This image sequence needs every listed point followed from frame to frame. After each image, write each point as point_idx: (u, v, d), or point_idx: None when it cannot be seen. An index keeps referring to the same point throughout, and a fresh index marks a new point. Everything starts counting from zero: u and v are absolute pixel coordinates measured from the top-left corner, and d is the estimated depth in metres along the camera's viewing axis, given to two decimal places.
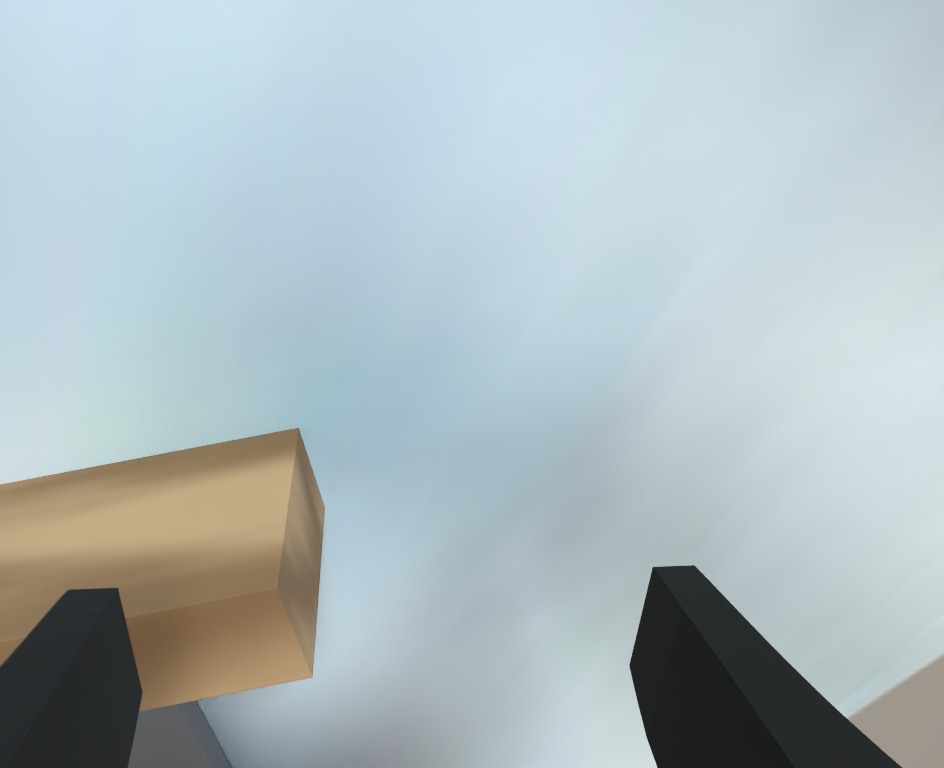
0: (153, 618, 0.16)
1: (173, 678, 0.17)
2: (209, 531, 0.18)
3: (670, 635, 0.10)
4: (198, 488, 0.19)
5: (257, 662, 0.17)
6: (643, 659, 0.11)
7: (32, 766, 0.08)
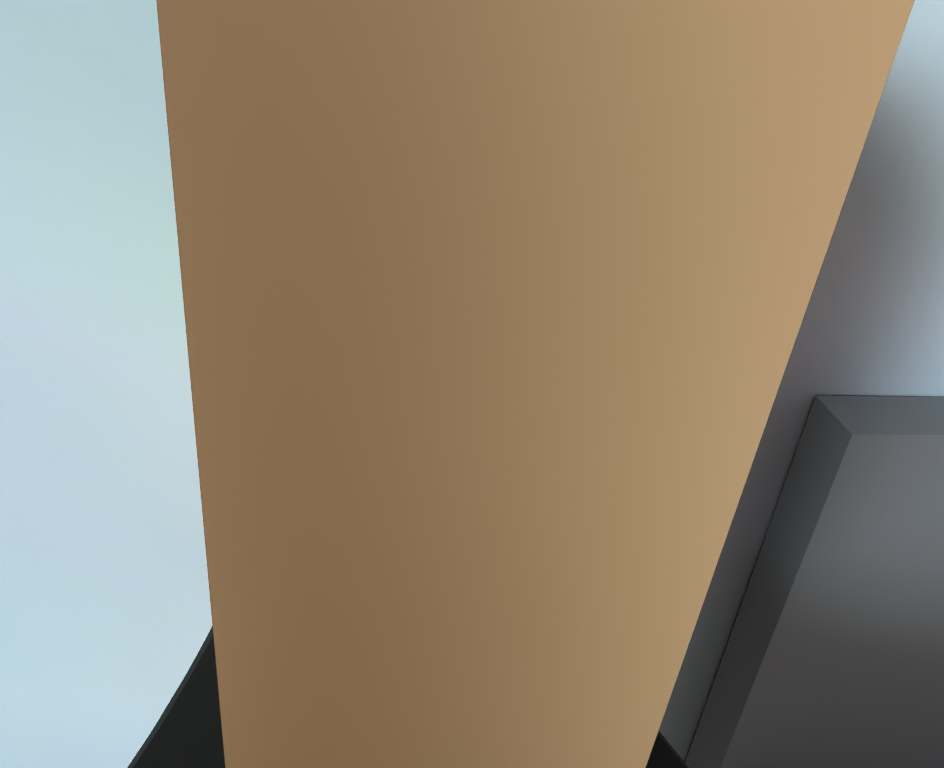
0: (231, 410, 0.04)
1: (603, 459, 0.04)
2: None
3: None
4: None
5: (693, 81, 0.03)
6: None
7: None
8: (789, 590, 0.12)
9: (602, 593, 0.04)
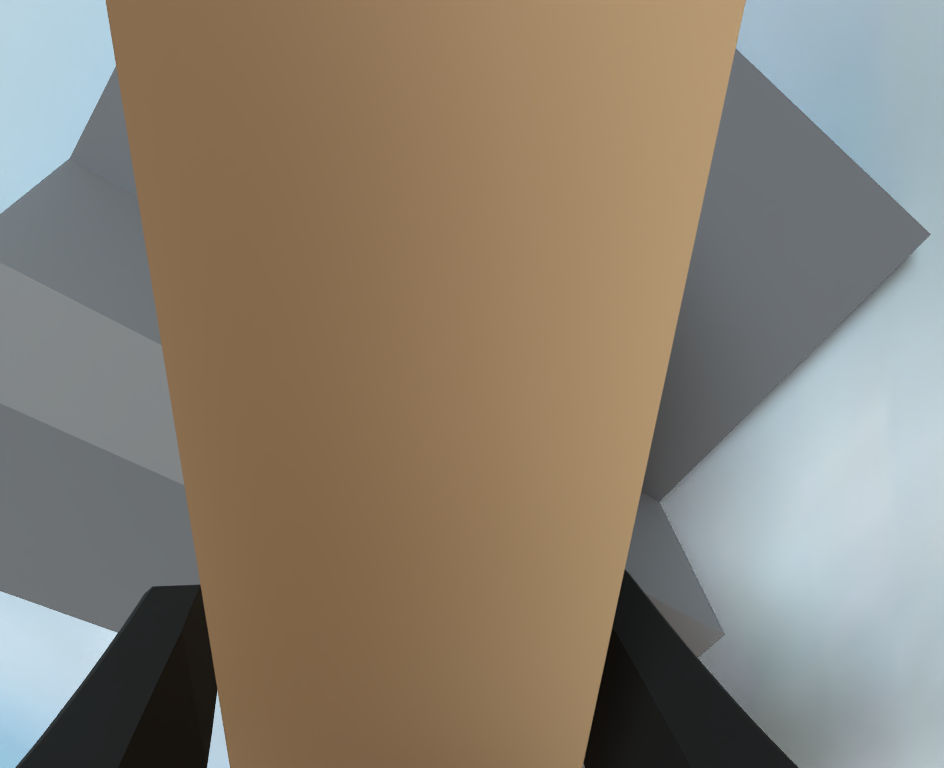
0: (196, 357, 0.04)
1: (527, 392, 0.05)
2: None
3: None
4: None
5: (567, 54, 0.04)
6: None
7: (140, 759, 0.08)
8: None
9: (540, 518, 0.05)
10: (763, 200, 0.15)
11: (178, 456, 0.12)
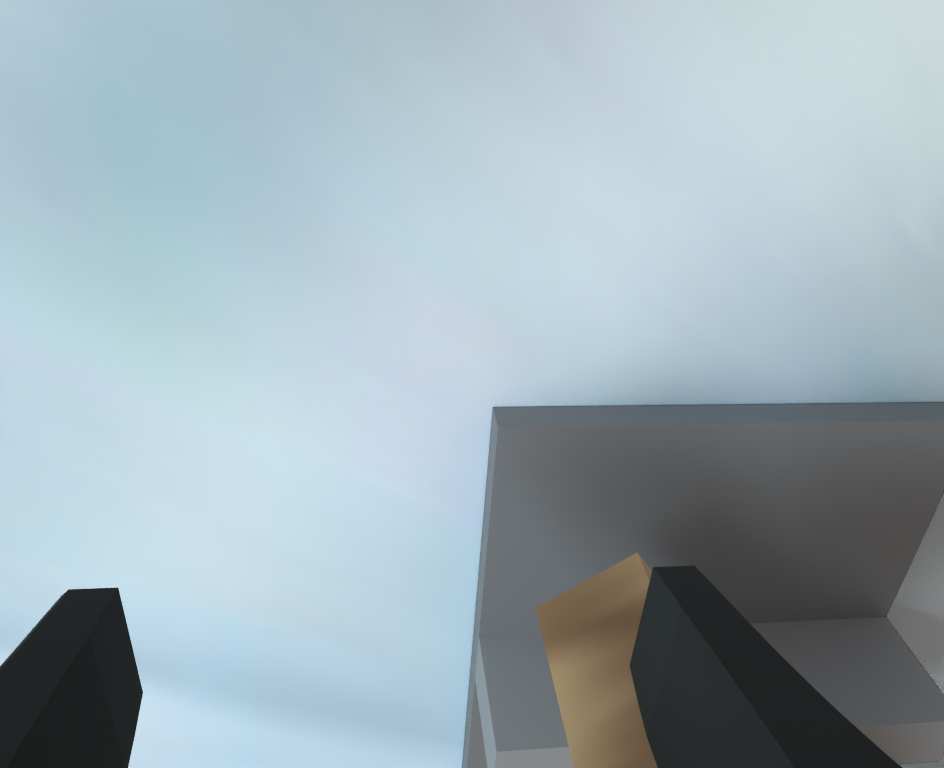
0: None
1: None
2: None
3: (670, 635, 0.10)
4: None
5: None
6: (643, 659, 0.11)
7: (32, 766, 0.08)
8: (490, 511, 0.22)
9: None
10: (850, 465, 0.23)
11: None
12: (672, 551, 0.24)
